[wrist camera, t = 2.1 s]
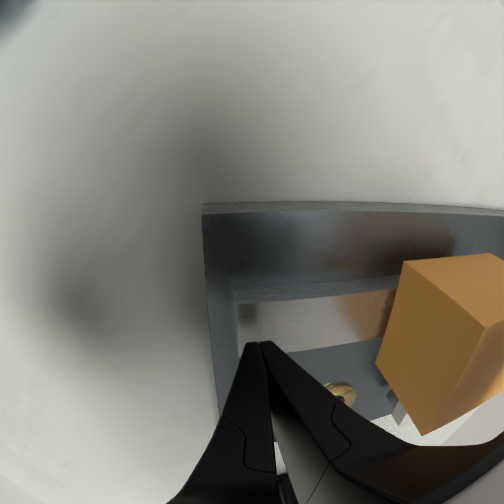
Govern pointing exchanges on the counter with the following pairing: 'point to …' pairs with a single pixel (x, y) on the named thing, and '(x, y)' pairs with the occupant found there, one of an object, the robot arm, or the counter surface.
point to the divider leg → (444, 339)
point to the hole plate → (324, 282)
